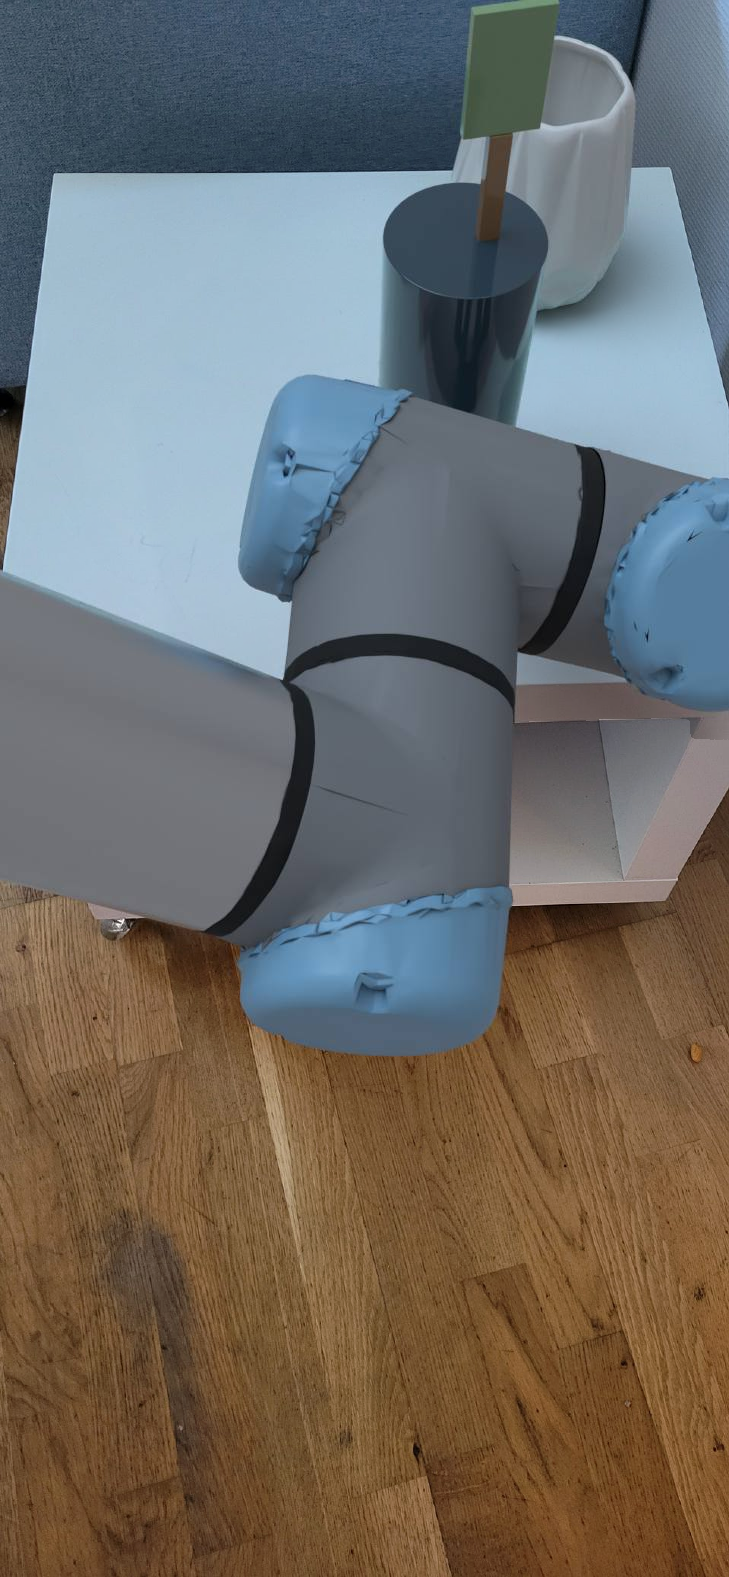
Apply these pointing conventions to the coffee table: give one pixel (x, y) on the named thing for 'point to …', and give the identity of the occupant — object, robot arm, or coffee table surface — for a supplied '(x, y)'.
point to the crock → (473, 237)
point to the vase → (572, 167)
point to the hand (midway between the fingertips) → (467, 498)
